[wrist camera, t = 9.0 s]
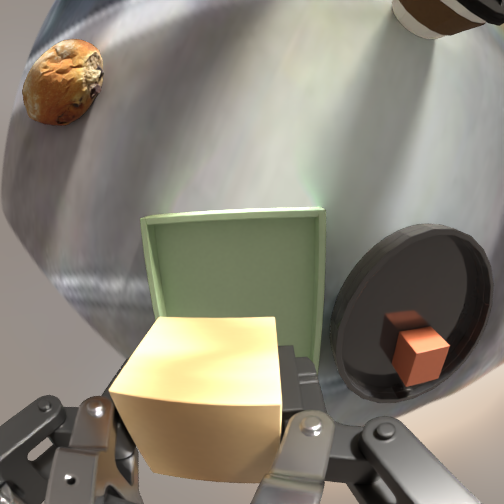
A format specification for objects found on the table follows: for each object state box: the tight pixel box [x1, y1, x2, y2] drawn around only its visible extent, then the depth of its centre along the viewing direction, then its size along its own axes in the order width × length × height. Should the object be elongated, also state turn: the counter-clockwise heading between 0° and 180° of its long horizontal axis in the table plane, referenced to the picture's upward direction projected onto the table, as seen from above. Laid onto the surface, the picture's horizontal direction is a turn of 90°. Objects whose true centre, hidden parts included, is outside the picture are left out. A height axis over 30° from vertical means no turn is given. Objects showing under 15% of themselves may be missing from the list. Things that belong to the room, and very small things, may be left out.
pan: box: [330, 224, 494, 403], centre depth 24 cm, size 20×20×3 cm
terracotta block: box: [392, 326, 450, 387], centre depth 24 cm, size 4×4×4 cm
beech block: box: [109, 317, 282, 483], centre depth 8 cm, size 4×4×4 cm
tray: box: [140, 207, 326, 376], centre depth 24 cm, size 15×17×2 cm
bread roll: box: [22, 39, 104, 126], centre depth 18 cm, size 10×10×8 cm
